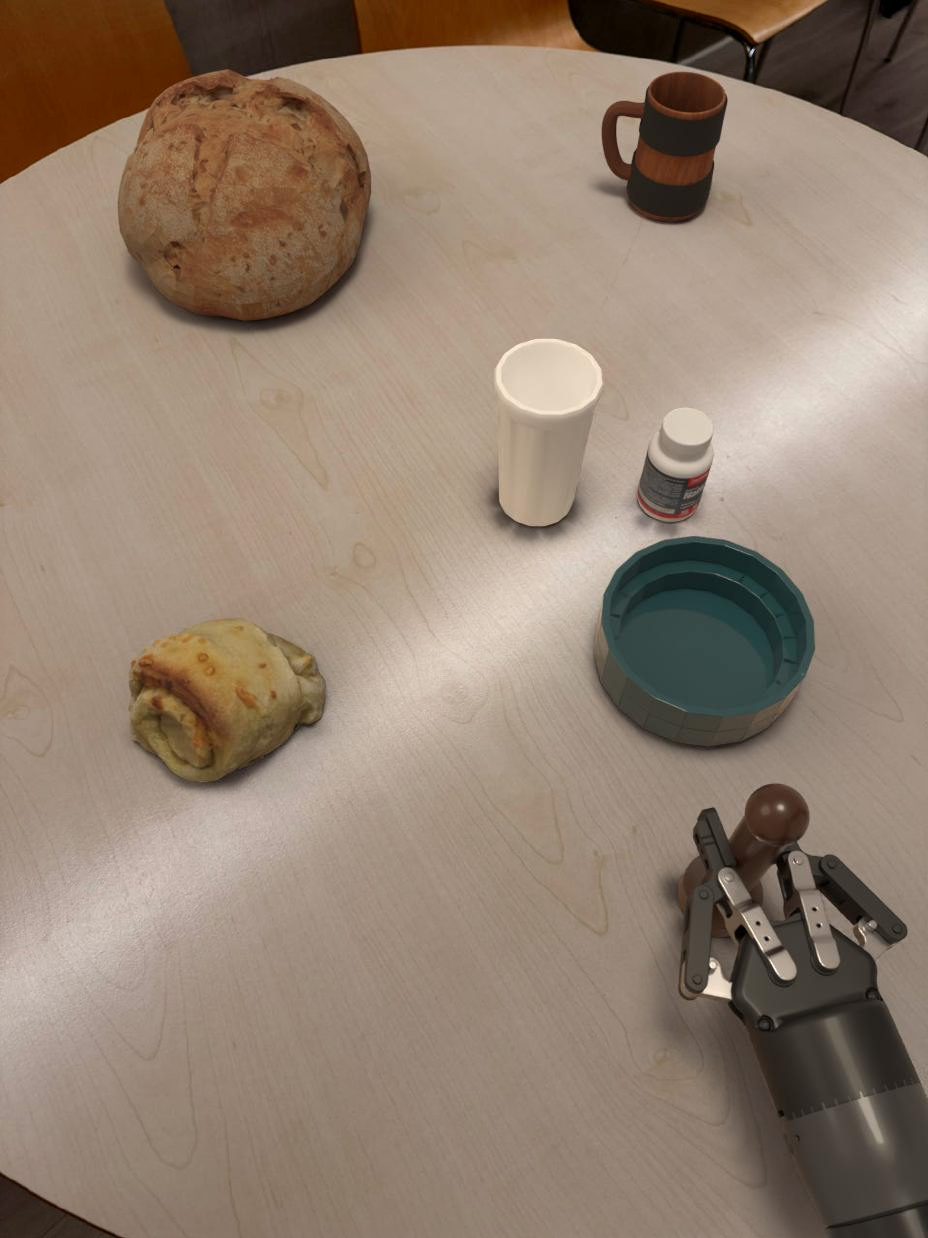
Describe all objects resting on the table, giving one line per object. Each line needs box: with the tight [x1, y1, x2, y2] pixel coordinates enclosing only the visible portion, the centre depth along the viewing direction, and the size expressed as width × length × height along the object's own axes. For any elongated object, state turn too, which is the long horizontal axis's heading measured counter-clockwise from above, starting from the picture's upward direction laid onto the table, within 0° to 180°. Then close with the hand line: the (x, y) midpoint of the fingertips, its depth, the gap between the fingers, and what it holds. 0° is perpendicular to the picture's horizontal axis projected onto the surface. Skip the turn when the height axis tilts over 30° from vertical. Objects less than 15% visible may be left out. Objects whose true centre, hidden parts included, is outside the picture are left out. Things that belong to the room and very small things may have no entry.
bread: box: [117, 68, 372, 322], centre depth 98 cm, size 26×23×15 cm
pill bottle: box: [636, 407, 715, 523], centre depth 83 cm, size 5×5×9 cm
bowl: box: [593, 535, 816, 747], centre depth 76 cm, size 15×15×6 cm
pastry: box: [128, 617, 327, 783], centre depth 72 cm, size 14×12×8 cm
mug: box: [601, 71, 729, 223], centre depth 104 cm, size 9×12×12 cm
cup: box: [493, 338, 605, 527], centre depth 81 cm, size 8×8×14 cm
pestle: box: [677, 782, 811, 938], centre depth 62 cm, size 5×5×17 cm
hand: (731, 808), depth 62 cm, fingers closed on pestle, 2 cm apart
